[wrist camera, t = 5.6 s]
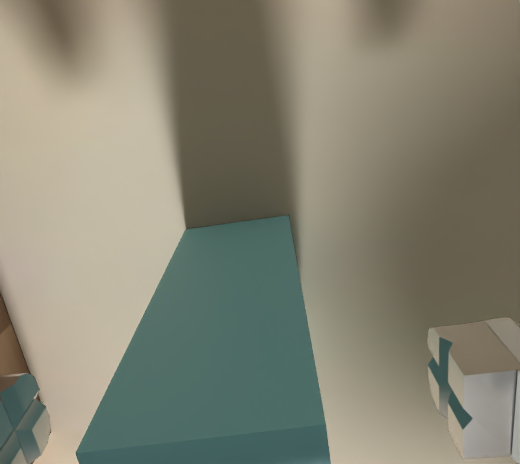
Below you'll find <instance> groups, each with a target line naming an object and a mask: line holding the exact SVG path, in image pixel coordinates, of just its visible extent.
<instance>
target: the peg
mask: <svg viewBox="0 0 520 464" xmlns="http://www.w3.org/2000/svg"><path fill="white" fill-rule="evenodd" d="M76 456H77V459H78V461H79V464H331V462H330V454H329V446H328V438H327V430H326V423H325V417H324V412H323V406H322V400H321V395H320V389H319V384H318V378H317V372H316V367H315V361H314V355H313V350H312V344H311V338H310V333H309V327H308V322H307V316H306V310H305V305H304V299H303V293H302V288H301V282H300V277H299V271H298V265H297V260H296V254H295V248H294V243H293V237H292V232H291V226H290V220H289V215H285V216H278V217H271V218H264V219H256V220H249V221H242V222H235V223H228V224H221V225H213V226H206V227H199V228H192V229H186V230H185V232H184V234H183V236H182V238H181V240H180V242H179V244H178V246H177V248H176V250H175V252H174V254H173V256H172V258H171V260H170V262H169V264H168V266H167V268H166V271H165V273H164V275H163V277H162V279H161V281H160V283H159V285H158V287H157V289H156V291H155V293H154V295H153V297H152V299H151V301H150V303H149V305H148V307H147V309H146V311H145V313H144V315H143V317H142V319H141V321H140V323H139V325H138V327H137V329H136V331H135V334H134V336H133V338H132V340H131V342H130V344H129V346H128V348H127V350H126V352H125V354H124V356H123V358H122V360H121V362H120V364H119V366H118V368H117V370H116V372H115V374H114V376H113V378H112V380H111V382H110V384H109V386H108V388H107V390H106V392H105V394H104V397H103V399H102V401H101V403H100V405H99V407H98V409H97V411H96V413H95V415H94V417H93V419H92V421H91V423H90V425H89V427H88V429H87V431H86V433H85V435H84V437H83V439H82V441H81V443H80V445H79V447H78V449H77V451H76Z"/></svg>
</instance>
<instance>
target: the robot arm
mask: <svg viewBox="0 0 520 464" xmlns="http://www.w3.org/2000/svg"><path fill="white" fill-rule="evenodd" d="M428 348H429V350H430V351H431V353H432V355H433V359H432V360H431V361H430V363H429V364H428V380H429V385H430V390H431V394H432V397H433V400H434V403H435V405H436V407H437V410H438V412H439V413H440V414H441V415H443V416H444V417H446V418H448V432H449V434H450V436H451V438H452V440H453V442H454V444H455V445H456V447H457V449H458V451H459V453H460V455H461V457H462V459H474V458H488V457H502V456H512V459H513V460H515V461H516V462H517V463H519V464H520V327H519V326H518V325H517V324H516V323H515V322H514V321H513V320H512V319H510V318H507V317H503V318H496V319H490V320H483V321H479V322H471V323H464V324H456V325H449V326H441V327H433V328H429V331H428ZM38 392H39V387H38V385H37V382H36V380H35V378H34V376H32V375H30V374H28V373H22V374H11V375H0V464H30V463H32V462H33V461H34V460H35V459H37V458H38V457H39V456H40V455H42V453H43V451H44V449H45V447H46V445H47V443H48V439H49V434H50V428H51V427H50V417H49V414H48V411H47V408H46V406H44V405H43V404H42V403H41V402H39V401H38V400H37V399H36V397H37V394H38Z"/></svg>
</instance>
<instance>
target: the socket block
mask: <svg viewBox="0 0 520 464" xmlns="http://www.w3.org/2000/svg"><path fill="white" fill-rule="evenodd" d="M22 373H28V374H29V371H28V368H27V365H26V363H25V360H24V357H23V354H22V352H21V349H20V346H19V344H18V341H17V338H16V335H15V333H14V330H13V327H12V324H11V322H10V319H9V316H8V314H7V311H6V308H5V305H4V303H3V300H2V297H1V294H0V375H11V374H22ZM36 399H37V400H38V401H39V398H38V395H37V397H36ZM39 402H40V401H39ZM50 433H51V431H50ZM49 435H50V434H49ZM33 462H34V461H33ZM33 462H32V463H30V464H33Z"/></svg>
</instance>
